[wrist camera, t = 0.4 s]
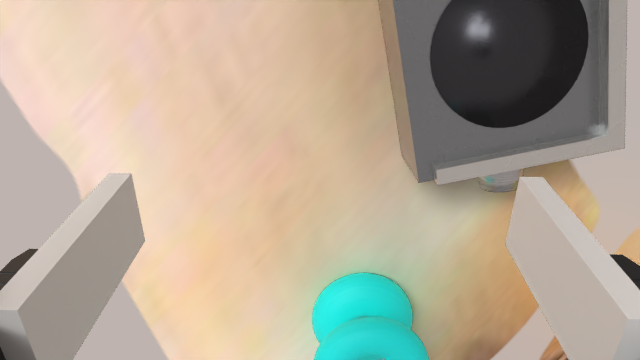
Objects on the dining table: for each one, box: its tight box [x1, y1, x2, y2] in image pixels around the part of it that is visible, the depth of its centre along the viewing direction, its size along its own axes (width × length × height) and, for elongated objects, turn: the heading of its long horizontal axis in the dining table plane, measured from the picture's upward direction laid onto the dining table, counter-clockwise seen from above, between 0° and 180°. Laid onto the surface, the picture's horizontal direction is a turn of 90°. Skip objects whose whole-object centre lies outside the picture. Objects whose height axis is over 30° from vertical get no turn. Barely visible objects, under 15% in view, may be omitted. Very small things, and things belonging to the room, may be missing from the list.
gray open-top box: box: [378, 0, 627, 192], centre depth 37 cm, size 20×15×8 cm
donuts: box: [312, 273, 429, 360], centre depth 44 cm, size 10×10×10 cm
